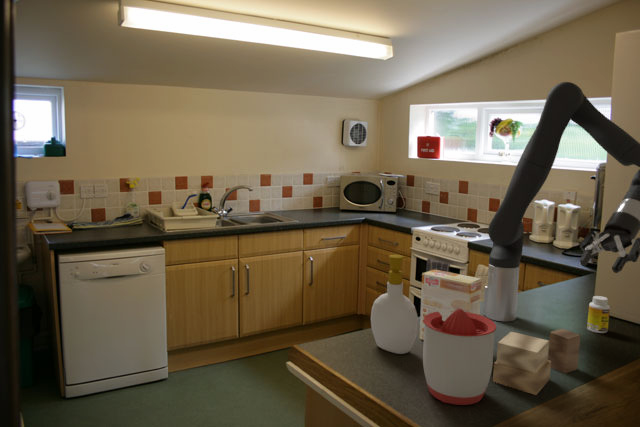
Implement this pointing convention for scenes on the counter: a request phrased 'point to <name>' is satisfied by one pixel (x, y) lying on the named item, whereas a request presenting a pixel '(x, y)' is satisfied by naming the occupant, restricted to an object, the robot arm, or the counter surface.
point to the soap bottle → (394, 314)
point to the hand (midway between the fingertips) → (598, 267)
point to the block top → (522, 352)
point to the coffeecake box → (448, 294)
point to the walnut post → (564, 350)
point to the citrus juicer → (458, 356)
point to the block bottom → (522, 377)
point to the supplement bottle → (598, 315)
